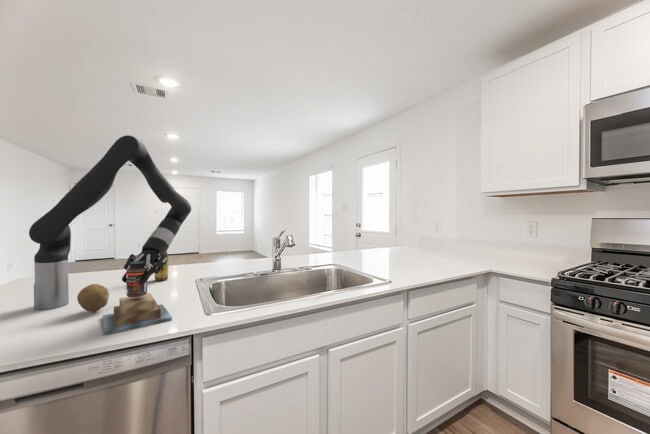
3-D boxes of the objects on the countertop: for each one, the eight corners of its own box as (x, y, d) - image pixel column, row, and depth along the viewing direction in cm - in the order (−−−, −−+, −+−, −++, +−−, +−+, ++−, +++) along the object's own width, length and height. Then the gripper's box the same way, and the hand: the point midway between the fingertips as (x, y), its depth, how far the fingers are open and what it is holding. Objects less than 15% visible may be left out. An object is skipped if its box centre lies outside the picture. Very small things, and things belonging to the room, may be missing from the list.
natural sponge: (83, 308, 104) (83, 282, 104) (112, 305, 108) (112, 280, 108) (73, 317, 96) (72, 288, 96) (105, 314, 100) (104, 286, 99)
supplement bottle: (124, 298, 91) (123, 264, 91) (128, 293, 97) (128, 261, 96) (145, 296, 94) (145, 263, 93) (148, 291, 99) (148, 259, 99)
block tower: (104, 334, 83) (104, 311, 83) (102, 318, 96) (102, 298, 95) (172, 319, 95) (171, 299, 95) (162, 306, 107) (162, 288, 107)
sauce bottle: (162, 281, 143) (161, 243, 142) (151, 281, 144) (151, 242, 143) (171, 278, 149) (171, 241, 149) (161, 277, 151) (161, 241, 150)
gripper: (136, 235, 103) (106, 275, 92) (171, 236, 101) (145, 277, 89) (147, 247, 109) (121, 286, 97) (181, 249, 106) (157, 289, 95)
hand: (132, 282), depth 93 cm, fingers closed on supplement bottle, 6 cm apart
